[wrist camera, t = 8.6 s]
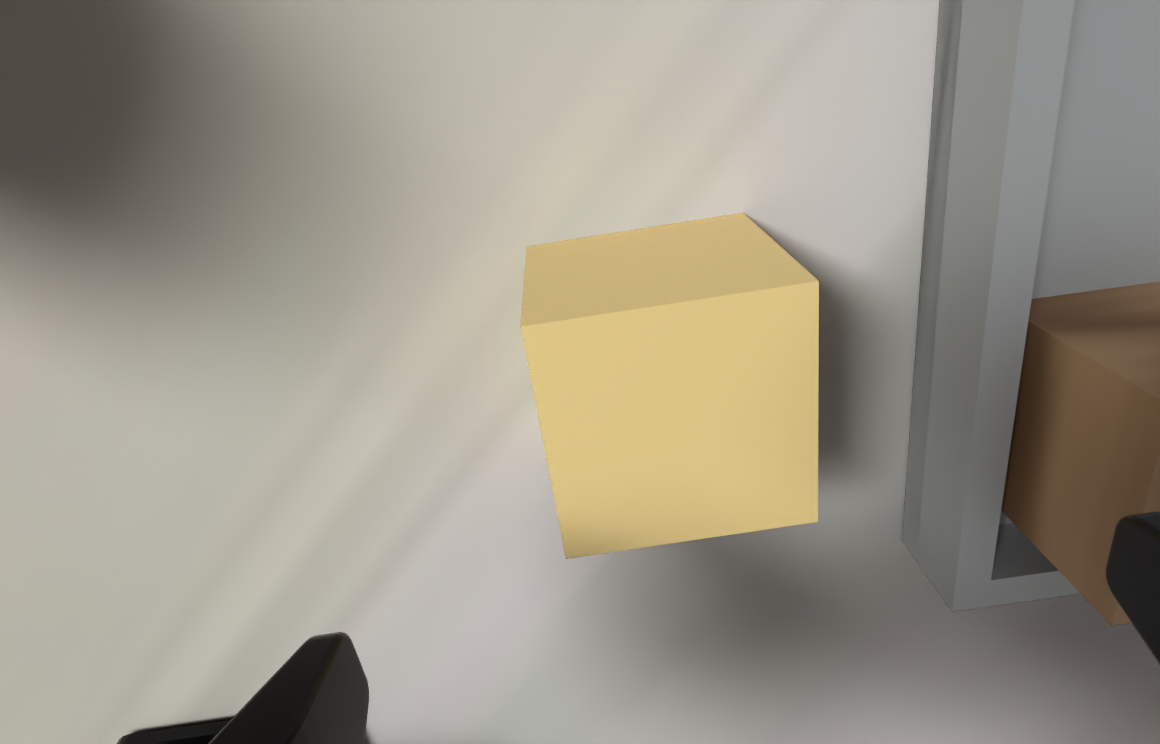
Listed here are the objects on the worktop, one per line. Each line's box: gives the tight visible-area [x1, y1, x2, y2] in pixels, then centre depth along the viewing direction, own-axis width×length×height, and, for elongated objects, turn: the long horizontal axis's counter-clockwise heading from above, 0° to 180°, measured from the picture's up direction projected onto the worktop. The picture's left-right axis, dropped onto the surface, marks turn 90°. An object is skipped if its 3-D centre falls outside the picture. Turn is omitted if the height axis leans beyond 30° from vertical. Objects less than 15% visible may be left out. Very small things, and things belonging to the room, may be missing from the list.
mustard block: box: [520, 213, 819, 559], centre depth 14 cm, size 4×4×4 cm
